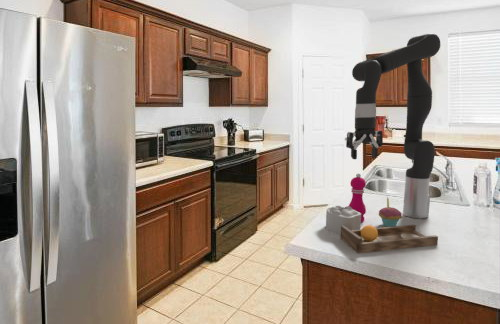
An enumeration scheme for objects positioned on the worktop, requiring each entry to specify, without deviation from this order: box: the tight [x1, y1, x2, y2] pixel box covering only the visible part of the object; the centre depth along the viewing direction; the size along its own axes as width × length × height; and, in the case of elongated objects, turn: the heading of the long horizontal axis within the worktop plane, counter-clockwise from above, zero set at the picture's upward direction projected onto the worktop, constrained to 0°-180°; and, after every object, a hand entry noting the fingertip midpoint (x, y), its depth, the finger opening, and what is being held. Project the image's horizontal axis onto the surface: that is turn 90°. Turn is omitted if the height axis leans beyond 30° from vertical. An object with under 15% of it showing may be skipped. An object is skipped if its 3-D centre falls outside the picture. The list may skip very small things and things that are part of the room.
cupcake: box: [378, 196, 403, 227], centre depth 132 cm, size 9×8×12 cm
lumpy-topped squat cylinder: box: [325, 205, 362, 236], centre depth 128 cm, size 10×13×9 cm
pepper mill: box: [348, 173, 367, 223], centre depth 137 cm, size 7×7×20 cm
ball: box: [360, 224, 378, 242], centre depth 114 cm, size 6×6×6 cm
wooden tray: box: [340, 224, 439, 254], centre depth 116 cm, size 30×12×5 cm, turn 102°
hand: (364, 158), depth 127 cm, fingers open, 8 cm apart
